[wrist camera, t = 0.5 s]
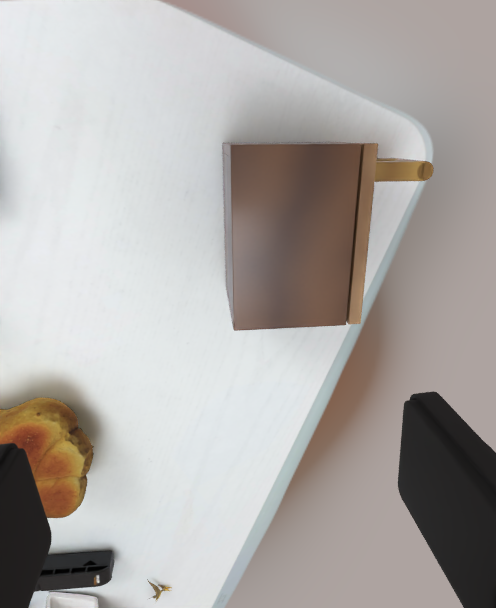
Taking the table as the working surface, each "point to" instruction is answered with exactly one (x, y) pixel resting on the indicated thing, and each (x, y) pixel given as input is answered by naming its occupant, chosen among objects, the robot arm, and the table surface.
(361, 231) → the cupboard door
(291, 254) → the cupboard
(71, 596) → the planter
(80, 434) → the bread roll
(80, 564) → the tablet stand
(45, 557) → the robot arm
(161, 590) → the small yellow-brown branched pieces
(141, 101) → the table surface
